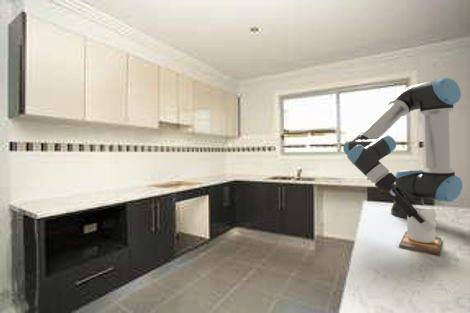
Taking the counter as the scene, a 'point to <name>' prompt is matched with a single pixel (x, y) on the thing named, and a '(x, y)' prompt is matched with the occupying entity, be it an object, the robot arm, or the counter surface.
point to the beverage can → (417, 230)
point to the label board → (421, 245)
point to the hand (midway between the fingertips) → (432, 226)
